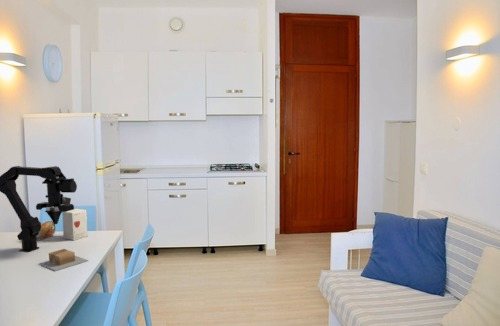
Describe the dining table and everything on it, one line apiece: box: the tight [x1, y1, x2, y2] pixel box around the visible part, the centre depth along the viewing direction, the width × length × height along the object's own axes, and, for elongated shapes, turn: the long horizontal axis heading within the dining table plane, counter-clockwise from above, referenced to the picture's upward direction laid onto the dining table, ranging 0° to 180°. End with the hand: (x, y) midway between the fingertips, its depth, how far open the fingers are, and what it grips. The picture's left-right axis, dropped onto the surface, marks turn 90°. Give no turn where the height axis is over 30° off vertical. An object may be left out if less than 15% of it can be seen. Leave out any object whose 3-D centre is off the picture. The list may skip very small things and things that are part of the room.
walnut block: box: [48, 248, 76, 266], centre depth 177 cm, size 4×7×9 cm
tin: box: [35, 220, 56, 241], centre depth 216 cm, size 15×3×8 cm, turn 168°
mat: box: [40, 255, 89, 272], centre depth 176 cm, size 12×15×1 cm
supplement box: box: [61, 208, 88, 241], centre depth 216 cm, size 9×9×15 cm
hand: (56, 224), depth 194 cm, fingers closed
